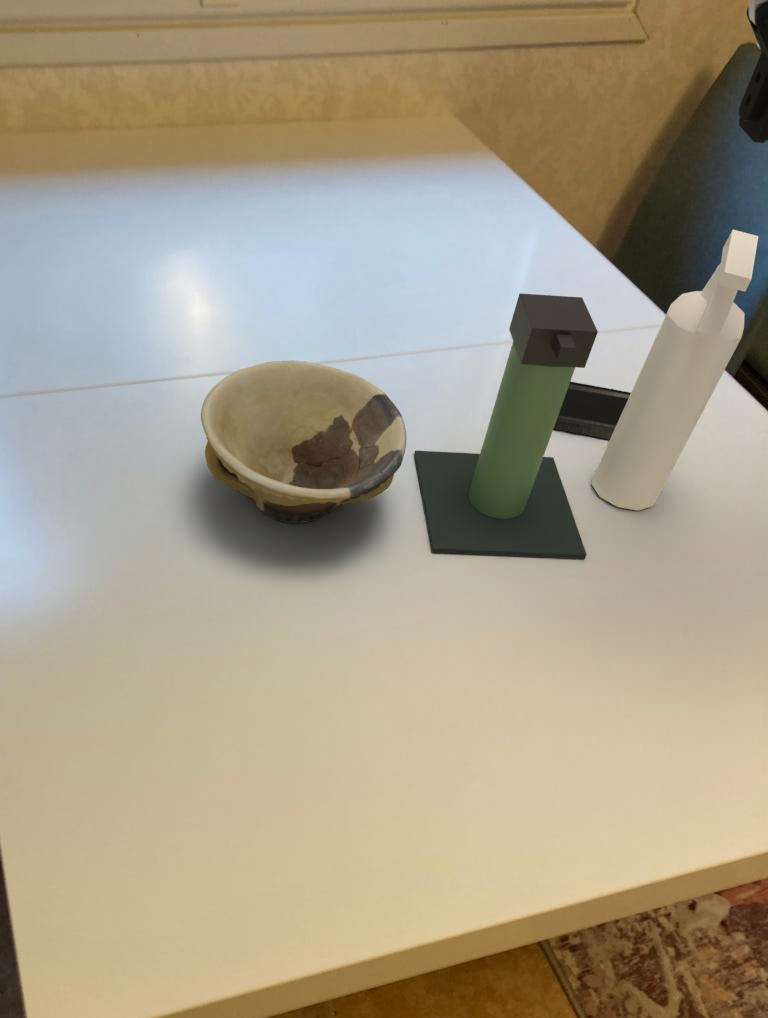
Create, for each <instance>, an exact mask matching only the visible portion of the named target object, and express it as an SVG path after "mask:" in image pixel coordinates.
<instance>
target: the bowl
mask: <svg viewBox="0 0 768 1018" xmlns="http://www.w3.org/2000/svg"><path fill="white" fill-rule="evenodd" d="M200 421H201V425H202V429H203V431H204V433H205V437H206V440H207V442H206V444H205V449H204V457H205V461H206V465H207V468H208V470H209V472H210V474H211V475H213V477H214V478H215V479H216V480H218V481H219V482H221V483H222V484H224V485H226V486H228V487H229V488H231V489H233V490H234V491H237V492H239V493H240V494H242V495H244V496H247V497H249V498H251V500H253V501H255V502H256V503H255V504H256V507H257V508H258V509H259V510H260V511H261V512H263V513H264V515H265V516H268V517H270V518H272V519H274V520H276V521H277V520H278V521H280V522H283V523H287V524H288V523H290V524H300V523H301V524H303V523H306V522H314V521H316V520H318V519H321V518H323V517H325V516H326V515H327V514H329V513H331V512H333V511H334V510H335V508H336V507H337V506H340V505H344V504H351V503H352V504H353V503H357V502H362V501H365V500H369V499H374V498H376V497H377V496H379V495H381V494H382V493H384V492H385V491H386V490H387V489H388V488H389V487H390V486H391V485H392V482H393V479H394V477H395V473H396V472H397V471H398V470H400V468H401V466H402V465H403V464H402V463H403V460H404V457H405V453H406V449H407V438H408V437H407V430H406V429H407V428H406V424H405V421H404V418H403V415H402V413H401V412H400V410H399V409H398V408H397V406H396V405H395V403H394V402H393V401H392V400H391V398H390V397H389V396H388V395H387V394H386V393H385V392H384V391H383V390H382V389H381V388H379V387H378V386H376V385H375V384H373V383H371V382H370V381H368V380H366V379H365V378H363V377H361V376H359V375H357V374H355V373H352V372H348V371H345V370H343V369H340V368H337V367H333V366H329V365H323V364H318V363H313V362H308V361H301V360H272V361H266V362H262V363H259V364H254V365H251V366H249V367H245V368H242V369H239V370H237V371H234V372H232V373H231V374H229V375H227V376H225V377H224V378H222V379H221V380H220V381H218V382H217V383H216V384H215V385H214V386H213V387H212V388H211V389H210V390H209V392H208V393H207V395H206V396H205V398H204V400H203V402H202V405H201V410H200Z"/></svg>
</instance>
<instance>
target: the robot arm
mask: <svg viewBox="0 0 768 1018" xmlns="http://www.w3.org/2000/svg"><path fill="white" fill-rule="evenodd" d="M747 2H748V3H747V4H748V5H747V8H746V17H747V20H748V22H749V25H750V27H751V30H752V32H753V33H754V36H755V39H756V47H757V48H758V50H760V51H761V53H760V54H759V57H758V60H757V63H756V65H755V67H754V70H753V72H752V73H751V74H752V75H751V77H750V79H749V82H748V84H747V87H746V88H745V89H746V90H745V91H744V94H743V96H742V100H741V102H740V105H739V109H738V116H739V119H738V126H739V127H740V128H741V129H742V131H743V132H744V133H745V134H746V135H747V136H748V137H749V139H751V141H752V142H754V143H758V144H759V143H760V144H763V143H766V141H768V0H747Z"/></svg>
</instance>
